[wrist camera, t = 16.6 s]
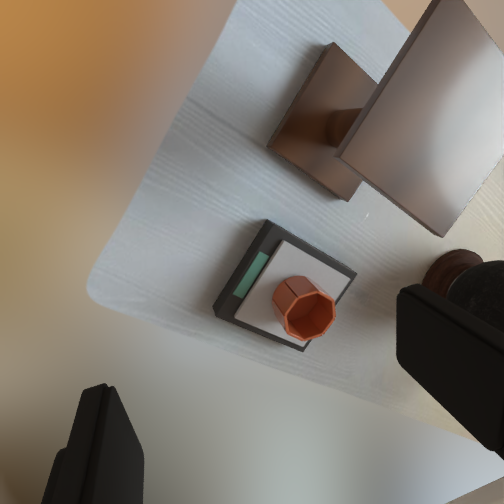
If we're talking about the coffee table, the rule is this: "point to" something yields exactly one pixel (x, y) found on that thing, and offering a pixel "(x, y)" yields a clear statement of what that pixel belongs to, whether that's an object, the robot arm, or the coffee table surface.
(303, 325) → the bowl
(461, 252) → the black orb ornament
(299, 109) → the stand
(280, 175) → the coffee table surface
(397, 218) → the coffee table surface
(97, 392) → the robot arm
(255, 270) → the scale
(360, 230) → the coffee table surface
